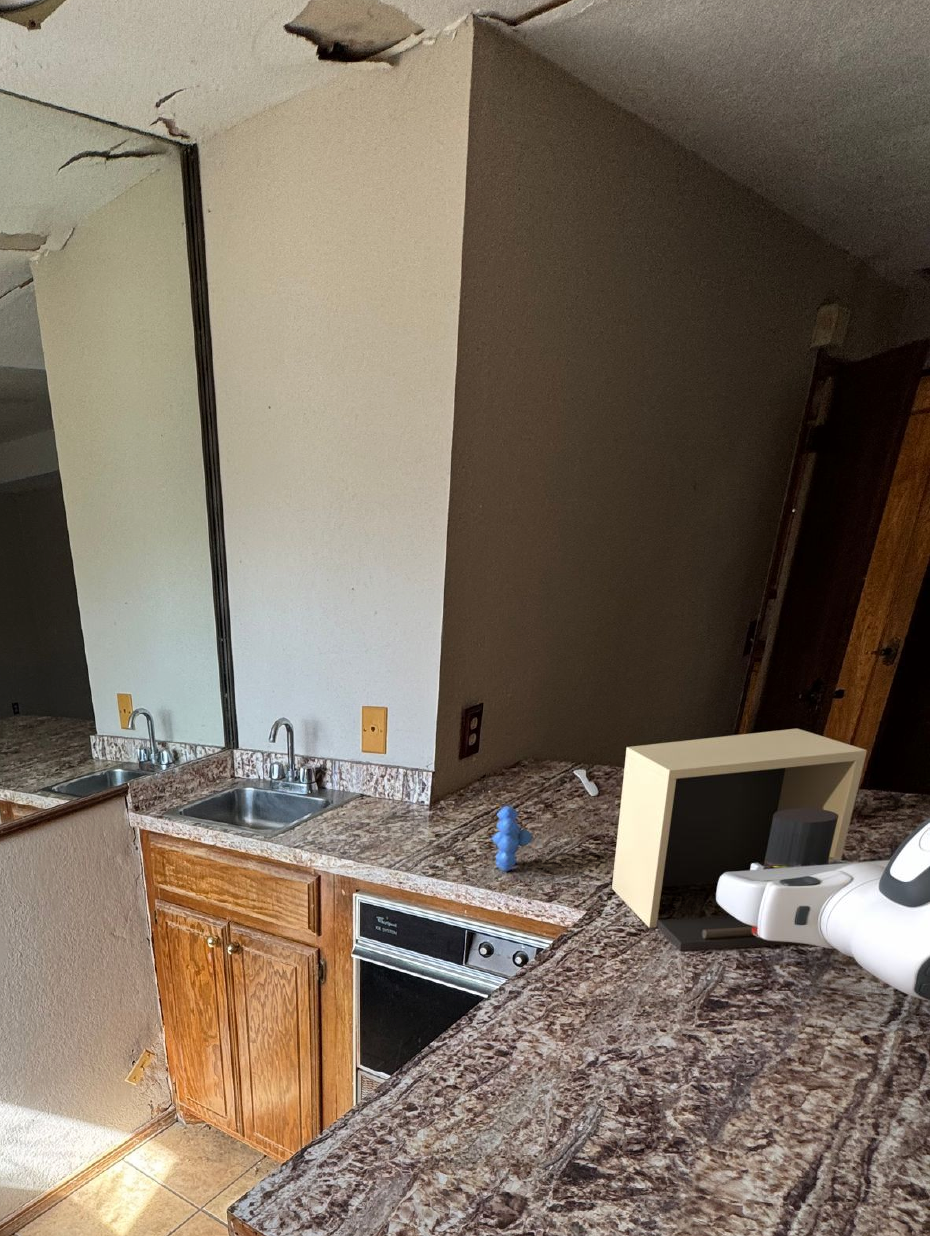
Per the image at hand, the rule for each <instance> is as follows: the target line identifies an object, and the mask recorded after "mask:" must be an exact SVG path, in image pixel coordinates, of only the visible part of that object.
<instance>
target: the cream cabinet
mask: <svg viewBox="0 0 930 1236" xmlns="http://www.w3.org/2000/svg"><path fill="white" fill-rule="evenodd" d="M867 753H868V750H867V749H864V748H861V747H858V746H856V745H852V744H848V743H845V742H842V741H839V740H837V739H836V740H835V739H832V738H829V737H826V736H822V735H820V734H816V733H814V732H810V731H807V730H804V729H800V728H790V729H789V728H788V729H780V730H771V731H761V732H751V733H743V734H733V735H724V736H715V737H708V738H707V737H706V738H697V739H689V740H681V741H680V740H679V741H670V742H661V743H652V744H643V745H642V744H641V745H635V746H633V745H632V746H627V747H626V750H625V760H624V770H623V780H622V789H621V798H620V806H619V807H620V809H619V818H618V827H617V836H616V845H615V846H616V847H615V856H614V865H613V874H612V883H611V884H612V885H611V889H612V890H613V892H615V893H616V895H617V896H618V897H619V898H620V899H621V900H622V901H623V902H624V903H625V904H626V906H628V908H630V909H631V910H632V911H633V912H634V914H635V915H636V916H637V917H638V918H639V919H640V920H641V921H642V922H643V924H645V926H647V928H649V929H651V928H652V929H653V928H657V930H659V931H660V932H661V933H662V934H663V935H664V936H665V938H666V939H667V940H668V941H670V942H671V944H672V945H673V946H674V947H675V948H676V949H677V950H678V951H679V952H687V951H689V952H690V951H705V950H718V949H719V950H720V949H721V950H724V949H737V948H740V949H741V948H756V947H757V948H758V947H772V946H773V947H775V946H791V945H805V944H804V943H779V942H772V941H767V940H764V939H761V938H758V937H756V936H755V935H753V933H752V926H751V925H748V924H745V923H743V922H741V921H739V920H738V919H736V918H735V917H733V916H732V915H731V914H727V915H713V916H697V917H682V918H681V917H680V918H666V919H659V912H660V903H661V896H662V890H663V888H671V887H683V886H695V885H708V884H709V885H710V884H718V881H719V878H720V877H721V875H722V874H724V873H726V872H734V871H748V870H750V868H751V864H752V863H763V862H765V857H766V852H767V847H768V842H769V836H770V831H771V826H772V821H773V816H774V813H776V812H778V811H781V810H786V809H798V808H809V809H821V810H827V811H831V812H834V813H836V814H838V820H837V825H836V829H835V833H834V838H833V842H832V846H831V851H830V855H829V857H836V858H838V859H840V860H842V857H843V854H844V849H845V844H846V842H847V836H848V833H849V829H850V824H851V819H852V816H853V812H854V807H855V804H856V803H855V802H856V798H857V794H858V790H859V786H860V781H861V777H862V773H863V769H864V765H865V760H866V756H867Z"/></svg>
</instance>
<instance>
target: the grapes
mask: <svg viewBox="0 0 930 1236" xmlns="http://www.w3.org/2000/svg"><path fill="white" fill-rule="evenodd" d="M518 816H519V813H518V811H517V810H516V809H515V808H514V807H512V806H511V805H505V806H503V807H502V808H501V809H500V810H499V811H498V813H497V814H496V817H497V818H498V819H499V821H498V822H497V823H496V825H495V827H496V828H497V830H498V831H497V832H496V833H495V834H494V835H493V836H492V837H491V841H492V842H493V843H494V844H495V845H496V846H497V853H496V854H495V856H494V858H495V860H496V862H495V863H494V864H495V865H496V867H497V868H498V869H499V870H500V871H502V872H509V871H510V870H511V869H512V868H514V866H515V865H516V863H517V862H516V860H518V857H517V856H516V855H515V854H516V853H517V852H518V851H519V850H520V847H525V846H527V845H528V844H529V843H530V842H531V841H533V839H534V837H535V836H533V834H532V833H531V832H530V831H529V830H528V829H526V828H523V829H520V828H521V826H520V825H519V824H518V823H517V822H516V819H517V817H518Z"/></svg>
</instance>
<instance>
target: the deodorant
mask: <svg viewBox="0 0 930 1236" xmlns="http://www.w3.org/2000/svg"><path fill="white" fill-rule="evenodd" d="M837 820H838V814H836V813H834V812H831V811H827V810H821V809H809V808H798V809H786V810H781V811H778V812H776V813H774V816H773V821H772V826H771V831H770V836H769V842H768V847H767V852H766V857H765V862H766V863H767V864H770V865H772V869H775V868H788V867H802V866H815V865H827V864H828V860H829V855H830V851H831V846H832V842H833V838H834V833H835V829H836V825H837ZM757 930H758V927H755V926H752V933H753V935H755V936H756V937H758V938H761V937H760V936H759V935H758V933H757ZM761 939H763V938H761ZM764 940H765V939H764ZM767 941H769V940H767ZM772 942H779V943H793V942H781V941H772Z"/></svg>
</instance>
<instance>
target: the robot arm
mask: <svg viewBox="0 0 930 1236" xmlns="http://www.w3.org/2000/svg"><path fill="white" fill-rule="evenodd" d="M715 900H716V903H717V905H719V906H720V907H721V908H722V909H723V910H724V911H725V912H726V913H728V915H732V916H733V917H735V918H736V919H738V920H739V921H741V922H743V923H745V924H748V925H751V926H755V927H758V930H757V933H758V935H759V936H760V937H761V938H763V939H765V940H769V941H781V942H793V943H804V944H803V945H811V946H815V947H820V948H824V949H830V950H836V951H838V952H840V953H841V954H843V955H845V956H848V957H851V958H854V960H855V962H856V963H857V964H858V965H859V966H860V967H861V968H862V969H864V970H865V971H867V972H868V973H869V974H871V975H872V976H874V977H876V978H877V979H878V980H880V981H882V982H884V983H885V984H887V985H889V986H890V987H892V988H894V989H896V990H897V991H899V992H902V993H904V994H906V995H908V996H911V997H913V998H916V999H919V1000H923V1001H928V1002H930V817H929V818H927V819H925V820H924V821H923V822H922V823H920V824H919V825H918V826H917V827H916V828H914V830H913V831H911V832H910V833H909V834H908V836H907V837H905V838H904V840H902V842H901V843H900V845H899V846H898V847H897V849H896V850H895V852H894V853H893V854H892V856H891V857H890V859H885V860H883V859H882V860H874V861H873V860H872V861H871V860H869V861H858V862H857V861H849V860H843V859H841V860H840V859H838V858H836V857H829V860H828V864H827V865H815V866H802V867H788V868H775V869H772V865H770V864H767V863H766V862H763V863H752V864H751V868H750V870H748V871H734V872H726V873H724V874H722V875H721V877H720V878H719V881H718V883H717V886H716V892H715Z"/></svg>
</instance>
